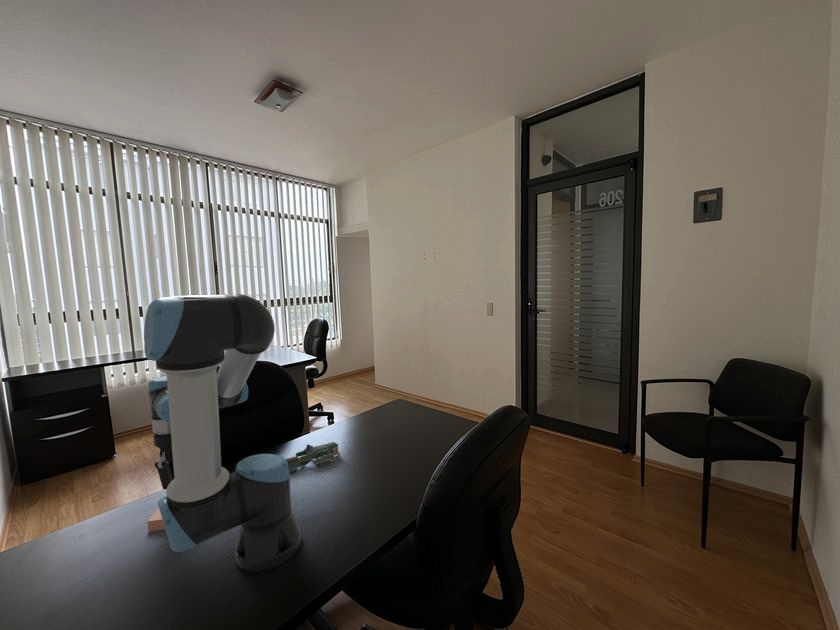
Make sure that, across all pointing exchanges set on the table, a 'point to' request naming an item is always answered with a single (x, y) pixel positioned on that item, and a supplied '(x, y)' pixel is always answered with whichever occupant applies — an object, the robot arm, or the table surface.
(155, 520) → the orange triangular block
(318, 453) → the hoverbike
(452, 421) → the table surface
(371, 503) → the table surface
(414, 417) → the table surface
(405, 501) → the table surface
